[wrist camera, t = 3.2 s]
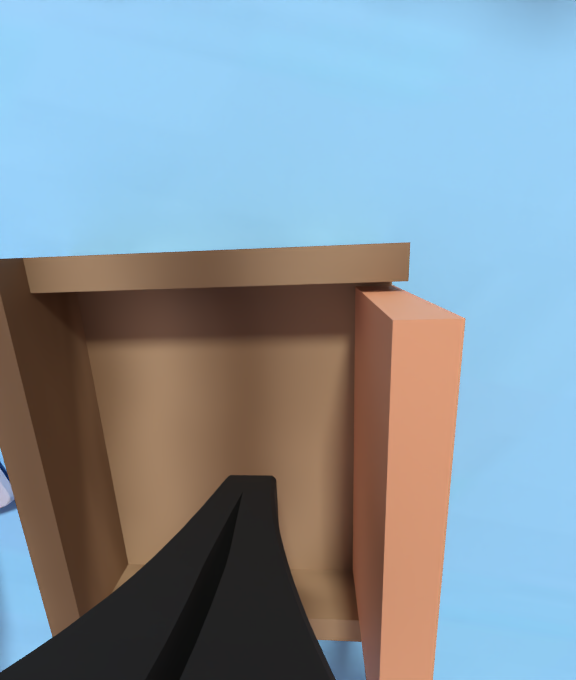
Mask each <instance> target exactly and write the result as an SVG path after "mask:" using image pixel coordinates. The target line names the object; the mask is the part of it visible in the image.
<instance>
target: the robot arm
mask: <svg viewBox="0 0 576 680" xmlns="http://www.w3.org/2000/svg"><path fill="white" fill-rule="evenodd" d="M13 500H14V495H13V492H12V488H11V484H10V482H9V481H8V479H7V478H6V476H5V475H4V473H3V472H2V470H1V469H0V508H2V507H5V506H7V505H8V504H10V503H11V502H12V501H13ZM0 680H336V679H335V677H334V675H333V673H332V671H331V669H330V667H329V665H328V662H327V660H326V658H325V656H324V654H323V651H322V649H321V647H320V645H319V642H318V640H317V638H316V636H315V634H314V631H313V629H312V627H311V625H310V622H309V620H308V617H307V615H306V612H305V610H304V607H303V605H302V602H301V599H300V597H299V594H298V591H297V588H296V585H295V583H294V580H293V577H292V574H291V571H290V567H289V564H288V561H287V557H286V554H285V550H284V547H283V543H282V539H281V534H280V529H279V519H278V500H277V482H276V478H274V477H273V476H272V475H229V476H228V477H227V478H226V479H225V480H224V482H223V483H222V484H221V485H220V486H219V487H218V489H217V490H216V491H215V492H214V493H213V494H212V496H211V497H210V498H209V499H208V500H207V501H206V502H205V504H204V505H203V506H202V507H201V508H200V509H199V510H198V511H197V513H196V514H195V515H194V516H193V517H192V518H191V519H190V520H189V521H188V522H187V523H186V525H185V526H184V527H183V528H182V529H181V530H180V531H179V532H178V533H177V534H176V535H175V536H174V537H173V538H172V539H171V540H170V541H169V542H168V543H167V544H166V545H165V546H164V547H163V548H162V549H161V550H160V551H159V552H158V553H157V554H156V555H155V556H154V557H153V558H152V559H151V560H149V561H148V562H147V563H146V564H145V565H144V566H143V567H142V568H141V569H140V570H139V571H137V572H136V573H135V574H134V575H133V576H132V577H131V578H129V579H128V580H127V581H126V582H125V583H123V584H122V585H121V586H120V587H119V588H118V589H116V590H115V591H114V592H113V593H111V594H110V595H109V596H108V597H106V598H105V599H104V600H102V601H101V602H100V603H98V604H97V605H96V606H94V607H93V608H92V609H91V610H89V611H88V612H87V613H85V614H84V615H83V616H81V617H80V618H79V619H77V620H76V621H75V622H73V623H72V624H71V625H69V626H68V627H67V628H65V629H64V630H63V631H61V632H60V633H58V634H57V635H56V636H54V637H53V638H51V639H50V640H48V641H47V642H45V643H44V644H42V645H41V646H40V647H38V648H37V649H35V650H34V651H32V652H31V653H29V654H28V655H26V656H25V657H23V658H22V659H20V660H19V661H17V662H16V663H14V664H12V665H11V666H9V667H8V668H6V669H5V670H3V671H2V672H0Z"/></svg>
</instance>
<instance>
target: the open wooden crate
mask: <svg viewBox="0 0 576 680" xmlns="http://www.w3.org/2000/svg"><path fill="white" fill-rule="evenodd" d="M409 256H410V243H385V244H360V245H335V246H311V247H286V248H261V249H237V250H212V251H187V252H162V253H138V254H113V255H88V256H63V257H39V258H12V259H0V448H1V452H2V455H3V459H4V463H5V466H6V470H7V473H8V477H9V481H10V484H11V488H12V492H13V495H14V499H15V502H16V506H17V510H18V513H19V517H20V521H21V524H22V528H23V531H24V535H25V539H26V542H27V546H28V550H29V553H30V557H31V560H32V564H33V568H34V571H35V575H36V579H37V582H38V586H39V590H40V593H41V597H42V600H43V604H44V608H45V611H46V615H47V619H48V622H49V626H50V629H51V633H52V637H54V636H56V635H57V634H58V633H60V632H61V631H63V630H64V629H65V628H67V627H68V626H69V625H71V624H72V623H73V622H75V621H76V620H77V619H79V618H80V617H81V616H83V615H84V614H85V613H87V612H88V611H89V610H91V609H92V608H93V607H94V606H96V605H97V604H98V603H100V602H101V601H102V600H104V599H105V598H106V597H108V596H109V595H110V594H111V593H113V592H114V591H115V590H116V589H118V588H119V587H120V586H121V585H122V584H123V583H125V582H126V581H127V580H128V579H129V578H131V577H132V576H133V575H134V574H135V573H136V572H137V571H139V570H140V569H141V568H142V567H143V566H144V565H145V564H146V563H147V562H148V561H149V560H151V559H152V558H153V557H154V556H155V555H156V554H157V553H158V552H159V551H160V550H161V549H162V548H163V547H164V546H165V545H166V544H167V543H168V542H169V541H170V540H171V539H172V538H173V537H174V536H175V535H176V534H177V533H178V532H179V531H180V530H181V529H182V528H183V527H184V526H185V525H186V523H187V522H188V521H189V520H190V519H191V518H192V517H193V516H194V515H195V514H196V513H197V511H198V510H199V509H200V508H201V507H202V506H203V505H204V504H205V502H206V501H207V500H208V499H209V498H210V497H211V496H212V494H213V493H214V492H215V491H216V490H217V489H218V487H219V486H220V485H221V484H222V483H223V482H224V480H225V479H226V478H227V477H228V476H229V475H272V476H273V477H274V478H276V482H277V500H278V519H279V529H280V534H281V539H282V543H283V547H284V550H285V554H286V557H287V561H288V564H289V567H290V571H291V574H292V577H293V580H294V583H295V585H296V588H297V591H298V594H299V597H300V599H301V602H302V605H303V607H304V610H305V612H306V615H307V617H308V620H309V622H310V625H311V627H312V629H313V631H314V634H315V636H316V638H317V640H336V641H358V642H362V641H361V633H360V625H359V617H358V609H357V601H356V593H355V585H354V577H353V473H354V368H355V286H387V285H392V282H393V281H408V277H409Z"/></svg>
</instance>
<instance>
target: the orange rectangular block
mask: <svg viewBox="0 0 576 680" xmlns="http://www.w3.org/2000/svg"><path fill="white" fill-rule="evenodd" d="M464 327H465V318H463V317H461V316H459V315H457V314H454V313H452V312H450V311H448V310H446V309H443V308H441V307H439V306H437V305H435V304H433V303H430V302H428V301H426V300H424V299H422V298H420V297H417V296H415V295H413V294H411V293H409V292H407V291H404V290H402V289H400V288H398V287H396V286H394V285H387V286H355V368H354V473H353V577H354V585H355V593H356V601H357V609H358V617H359V625H360V633H361V641H362V649H363V657H364V665H365V673H366V680H433V671H434V660H435V649H436V637H437V626H438V615H439V604H440V593H441V582H442V571H443V560H444V549H445V538H446V527H447V516H448V505H449V493H450V482H451V471H452V460H453V449H454V438H455V427H456V416H457V405H458V394H459V383H460V372H461V361H462V349H463V338H464Z"/></svg>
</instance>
